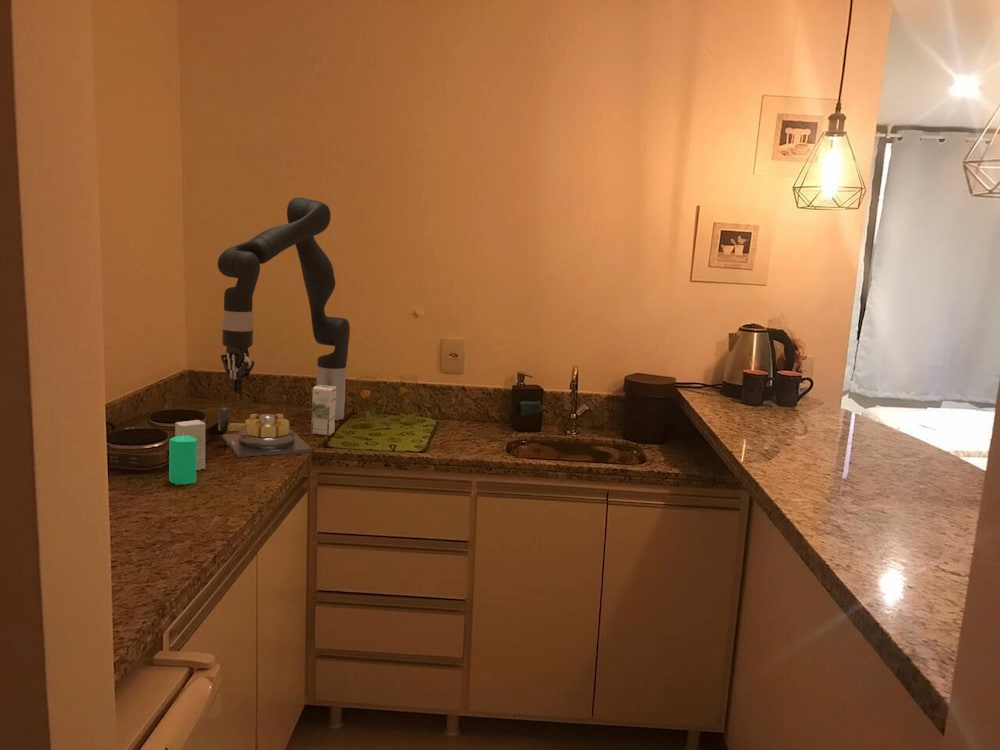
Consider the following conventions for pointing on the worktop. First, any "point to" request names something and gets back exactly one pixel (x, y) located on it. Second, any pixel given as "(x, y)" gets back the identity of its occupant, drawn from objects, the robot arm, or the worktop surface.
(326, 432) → the syrup box
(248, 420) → the gold notched piece
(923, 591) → the worktop surface
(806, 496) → the worktop surface
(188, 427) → the skincare box
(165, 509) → the worktop surface
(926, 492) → the worktop surface
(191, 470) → the candle
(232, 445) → the bearing housing
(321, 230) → the robot arm
